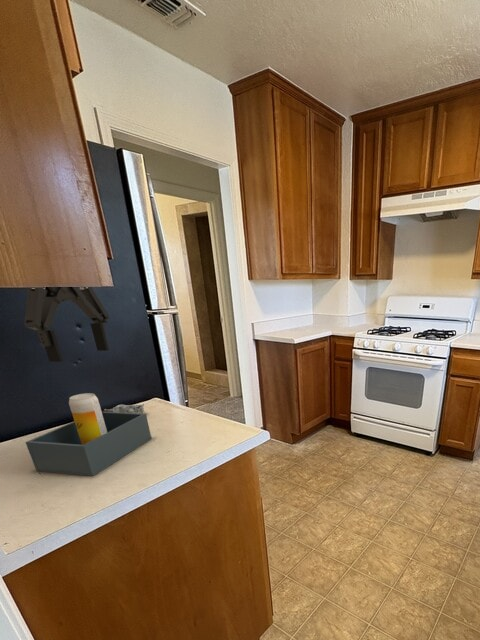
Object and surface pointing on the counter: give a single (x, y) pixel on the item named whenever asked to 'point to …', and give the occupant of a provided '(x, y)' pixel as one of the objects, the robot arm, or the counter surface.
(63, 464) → the tub
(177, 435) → the counter surface
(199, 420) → the counter surface
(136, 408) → the egg carton
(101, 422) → the beer can
